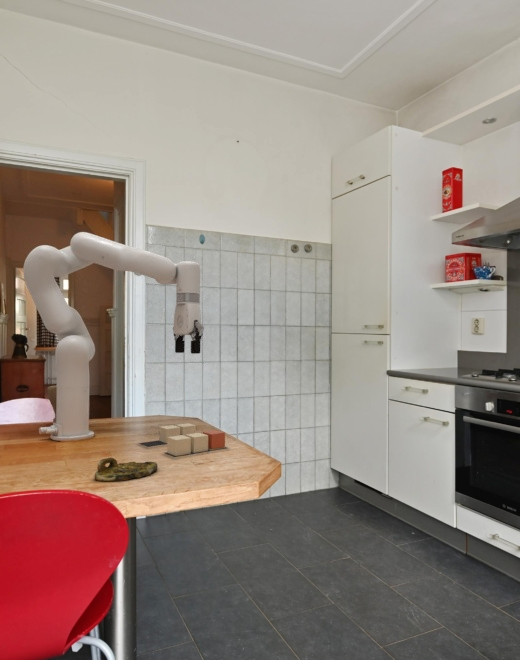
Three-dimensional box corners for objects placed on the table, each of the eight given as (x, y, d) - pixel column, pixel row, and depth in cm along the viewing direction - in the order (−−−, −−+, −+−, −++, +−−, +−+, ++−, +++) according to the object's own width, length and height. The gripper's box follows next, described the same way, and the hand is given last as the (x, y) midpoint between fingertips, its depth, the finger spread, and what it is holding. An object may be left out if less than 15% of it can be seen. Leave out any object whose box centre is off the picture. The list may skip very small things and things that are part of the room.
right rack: (174, 458, 123) (174, 440, 123) (163, 454, 127) (163, 436, 128) (228, 449, 134) (228, 432, 134) (216, 445, 138) (216, 429, 138)
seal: (145, 468, 117) (86, 480, 106) (144, 449, 117) (85, 458, 107) (167, 472, 110) (106, 484, 100) (166, 451, 111) (105, 461, 100)
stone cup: (45, 423, 172) (46, 381, 173) (80, 420, 178) (80, 380, 179) (49, 430, 159) (50, 385, 159) (87, 427, 165) (87, 383, 165)
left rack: (147, 448, 134) (148, 431, 134) (138, 444, 139) (138, 428, 139) (199, 440, 145) (199, 425, 145) (189, 437, 150) (189, 422, 150)
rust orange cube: (211, 449, 131) (211, 434, 131) (202, 446, 134) (202, 431, 134) (225, 447, 134) (225, 432, 134) (215, 444, 137) (216, 430, 137)
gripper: (164, 300, 159) (164, 352, 159) (192, 297, 146) (191, 354, 145) (184, 302, 164) (183, 352, 163) (212, 299, 150) (212, 353, 150)
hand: (187, 353), depth 154 cm, fingers open, 9 cm apart
